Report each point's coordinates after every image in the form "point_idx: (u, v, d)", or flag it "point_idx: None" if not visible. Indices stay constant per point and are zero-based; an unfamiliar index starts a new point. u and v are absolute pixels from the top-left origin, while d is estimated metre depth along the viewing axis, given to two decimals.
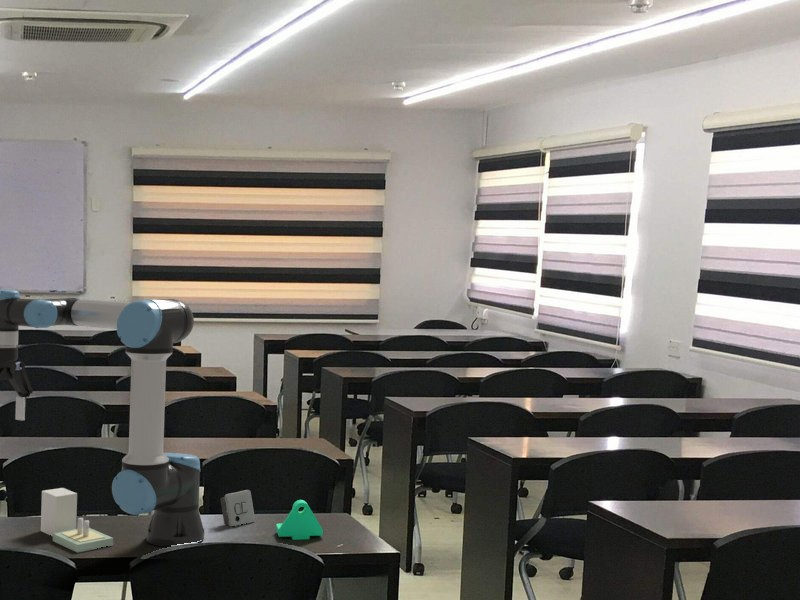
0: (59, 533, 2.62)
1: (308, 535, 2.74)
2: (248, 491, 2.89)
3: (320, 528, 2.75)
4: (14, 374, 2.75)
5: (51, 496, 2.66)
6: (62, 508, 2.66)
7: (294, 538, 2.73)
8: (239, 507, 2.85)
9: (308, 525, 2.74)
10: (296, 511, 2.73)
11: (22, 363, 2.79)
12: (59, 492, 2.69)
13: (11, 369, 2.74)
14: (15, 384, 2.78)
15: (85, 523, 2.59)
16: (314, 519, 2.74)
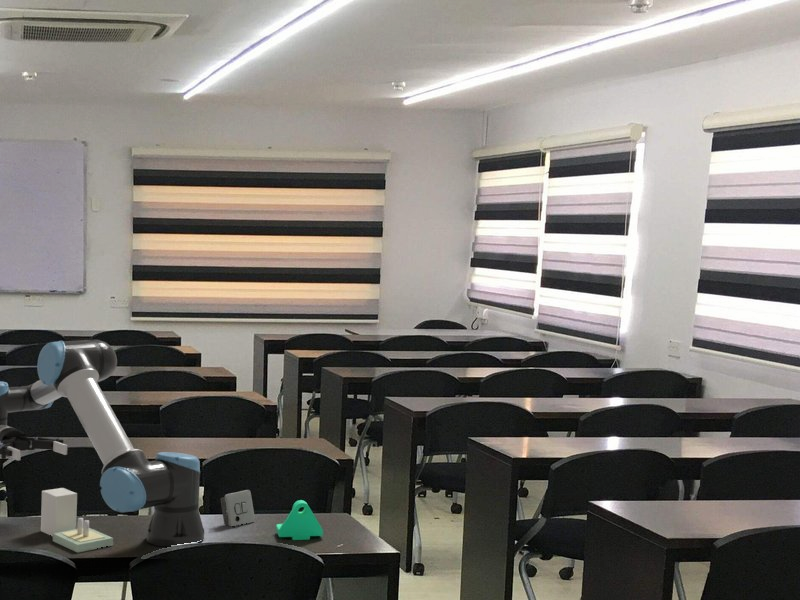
0: (59, 533, 2.62)
1: (308, 536, 2.73)
2: (248, 491, 2.89)
3: (320, 528, 2.74)
4: (29, 437, 2.87)
5: (51, 496, 2.66)
6: (62, 508, 2.66)
7: (294, 538, 2.73)
8: (239, 507, 2.85)
9: (308, 525, 2.73)
10: (296, 511, 2.72)
11: (36, 436, 2.91)
12: (59, 492, 2.69)
13: (22, 436, 2.87)
14: (40, 443, 2.86)
15: (85, 523, 2.59)
16: (314, 519, 2.74)
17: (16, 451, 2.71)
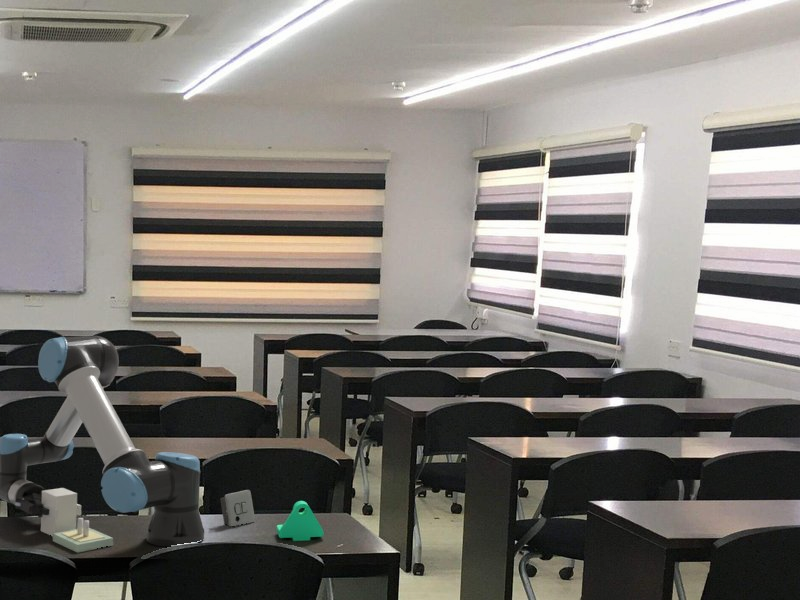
0: (59, 533, 2.62)
1: (309, 537, 2.73)
2: (248, 491, 2.89)
3: (321, 529, 2.73)
4: None
5: (51, 496, 2.66)
6: (62, 508, 2.66)
7: (295, 539, 2.72)
8: (239, 507, 2.85)
9: (308, 526, 2.73)
10: (297, 512, 2.71)
11: None
12: (59, 492, 2.69)
13: None
14: None
15: (85, 523, 2.59)
16: (315, 520, 2.73)
17: (53, 510, 2.64)
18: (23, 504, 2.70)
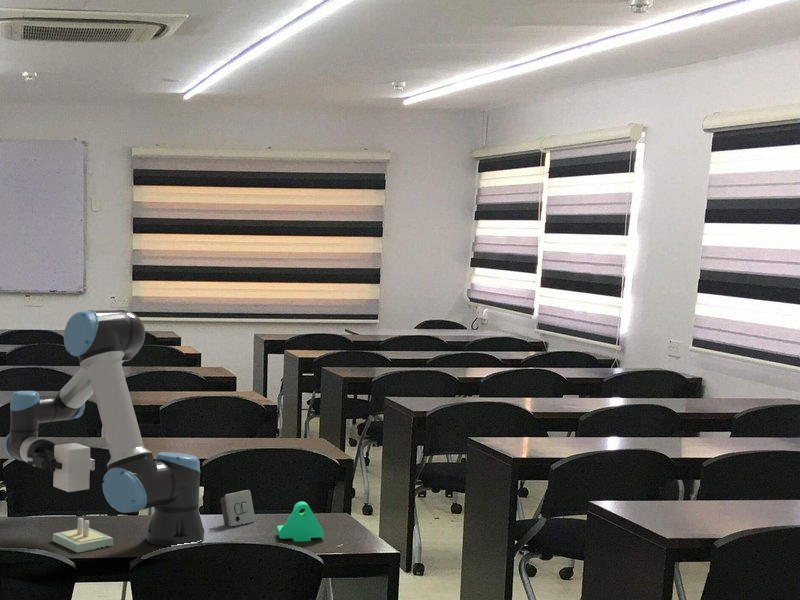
0: (59, 533, 2.62)
1: (309, 537, 2.72)
2: (248, 491, 2.89)
3: (321, 530, 2.73)
4: None
5: (64, 450, 2.61)
6: (75, 462, 2.61)
7: (295, 540, 2.71)
8: (239, 507, 2.85)
9: (309, 527, 2.72)
10: (297, 513, 2.71)
11: None
12: (72, 446, 2.64)
13: None
14: None
15: (85, 523, 2.59)
16: (315, 521, 2.72)
17: (66, 464, 2.59)
18: (35, 459, 2.65)
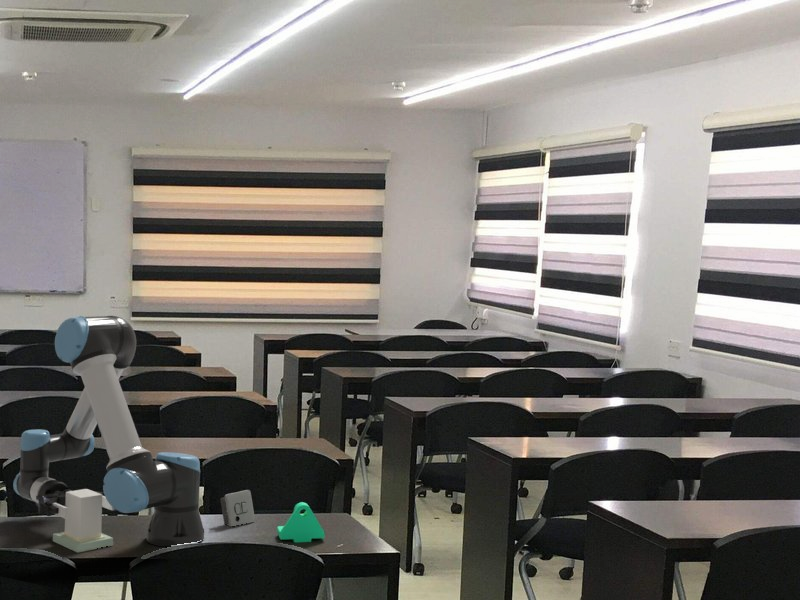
0: (59, 533, 2.62)
1: (309, 538, 2.71)
2: (248, 491, 2.89)
3: (322, 531, 2.72)
4: None
5: (76, 497, 2.57)
6: (87, 509, 2.57)
7: (296, 541, 2.70)
8: (239, 507, 2.85)
9: (309, 528, 2.71)
10: (298, 514, 2.70)
11: (80, 489, 2.74)
12: (84, 493, 2.60)
13: (66, 490, 2.69)
14: None
15: None
16: (316, 522, 2.71)
17: (63, 508, 2.54)
18: None
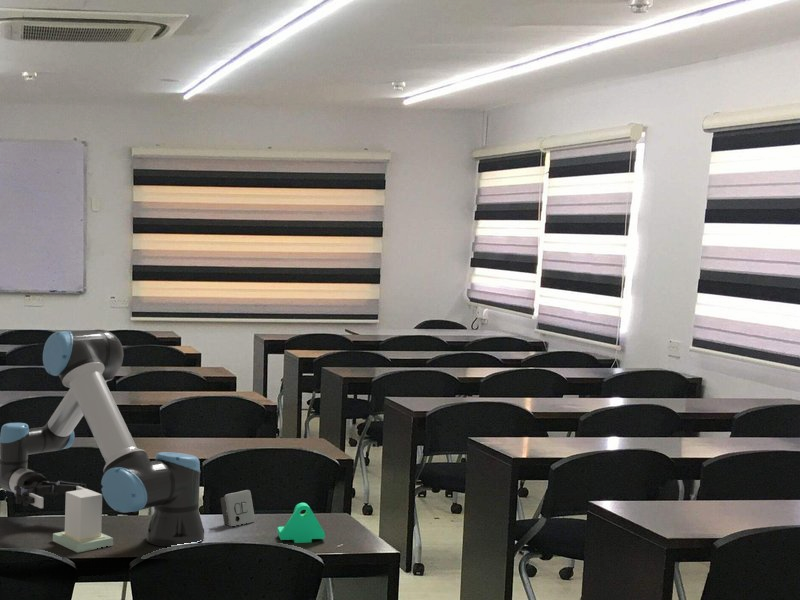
0: (59, 533, 2.62)
1: (310, 539, 2.71)
2: (248, 491, 2.89)
3: (322, 531, 2.72)
4: (51, 482, 2.78)
5: (76, 497, 2.57)
6: (87, 509, 2.57)
7: (296, 541, 2.70)
8: (239, 507, 2.85)
9: (310, 528, 2.71)
10: (298, 514, 2.70)
11: None
12: (84, 493, 2.60)
13: (43, 481, 2.78)
14: (62, 488, 2.77)
15: None
16: (316, 522, 2.71)
17: (39, 498, 2.62)
18: None
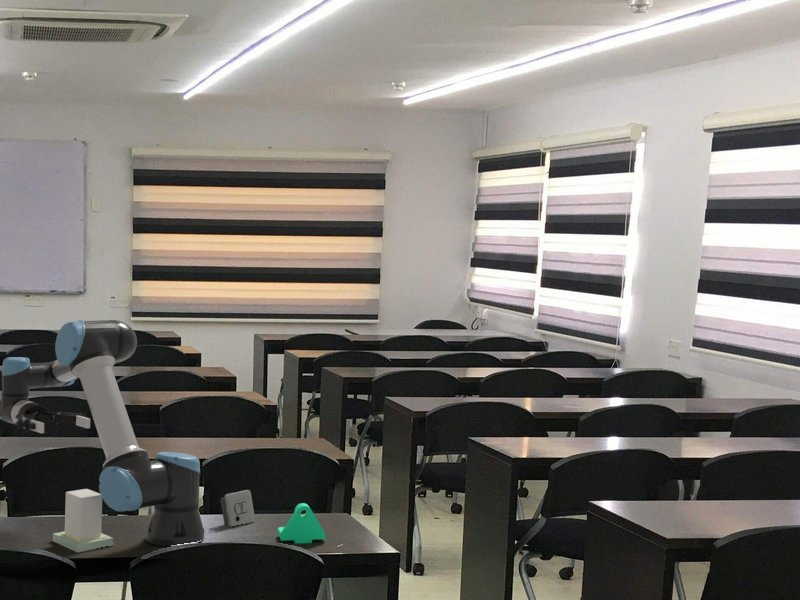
0: (59, 533, 2.62)
1: (310, 539, 2.70)
2: (248, 491, 2.89)
3: (322, 532, 2.71)
4: (51, 412, 2.85)
5: (76, 497, 2.57)
6: (87, 509, 2.57)
7: (296, 542, 2.69)
8: (239, 507, 2.85)
9: (310, 529, 2.70)
10: (298, 515, 2.69)
11: None
12: (84, 493, 2.60)
13: (44, 411, 2.85)
14: (62, 418, 2.85)
15: None
16: (316, 523, 2.70)
17: (40, 424, 2.70)
18: None
